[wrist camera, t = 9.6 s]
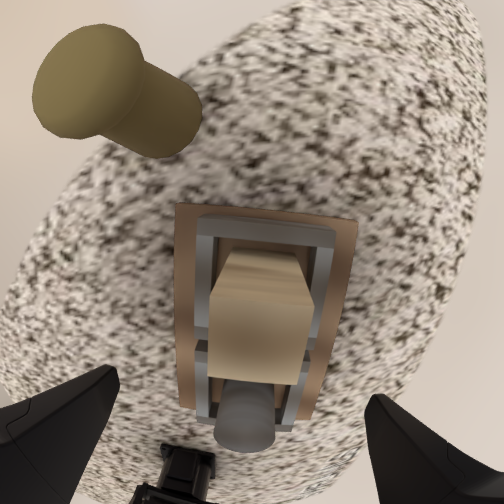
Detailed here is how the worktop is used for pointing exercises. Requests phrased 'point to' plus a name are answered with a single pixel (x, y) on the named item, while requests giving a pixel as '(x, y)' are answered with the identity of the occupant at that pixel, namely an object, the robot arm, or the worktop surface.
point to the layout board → (197, 314)
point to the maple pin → (259, 318)
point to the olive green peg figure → (114, 94)
